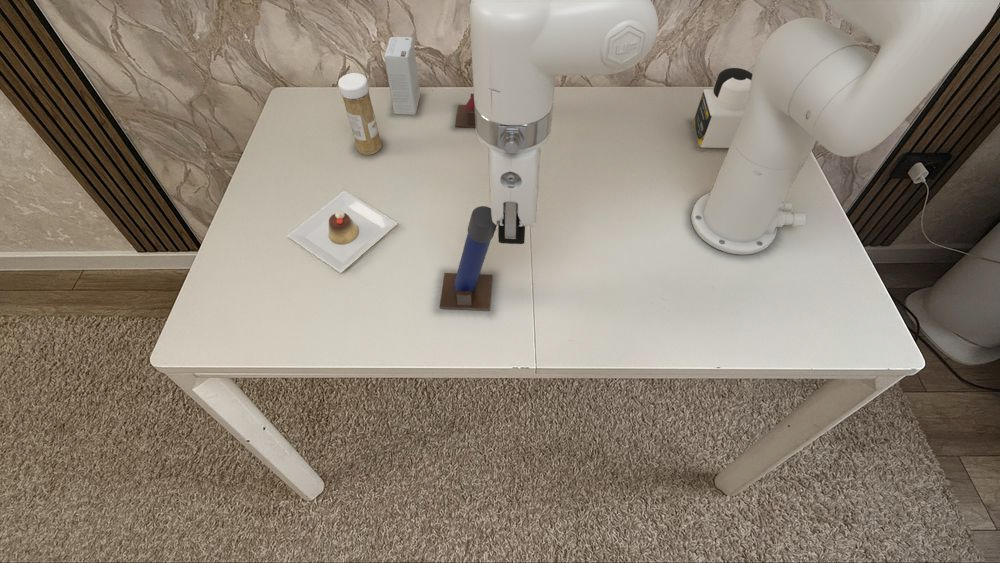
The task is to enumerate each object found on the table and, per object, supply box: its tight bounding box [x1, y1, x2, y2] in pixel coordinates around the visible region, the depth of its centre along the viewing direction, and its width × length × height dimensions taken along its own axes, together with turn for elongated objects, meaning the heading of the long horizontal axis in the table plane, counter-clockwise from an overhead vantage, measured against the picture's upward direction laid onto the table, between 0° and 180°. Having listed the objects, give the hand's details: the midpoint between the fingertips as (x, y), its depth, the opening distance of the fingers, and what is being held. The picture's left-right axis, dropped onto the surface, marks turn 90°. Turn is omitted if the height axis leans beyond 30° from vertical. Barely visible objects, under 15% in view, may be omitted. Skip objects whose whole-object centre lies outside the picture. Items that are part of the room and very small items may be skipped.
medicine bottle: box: [692, 67, 753, 149], centre depth 94 cm, size 7×7×12 cm
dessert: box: [286, 190, 398, 274], centre depth 84 cm, size 12×12×5 cm
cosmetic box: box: [384, 36, 421, 116], centre depth 100 cm, size 6×4×12 cm
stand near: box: [439, 272, 494, 312], centre depth 78 cm, size 7×6×3 cm
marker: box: [454, 205, 498, 293], centre depth 72 cm, size 3×3×15 cm
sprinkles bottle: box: [337, 72, 383, 156], centre depth 92 cm, size 5×5×14 cm
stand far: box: [454, 93, 476, 129], centre depth 101 cm, size 7×6×3 cm
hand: (511, 238), depth 69 cm, fingers closed
